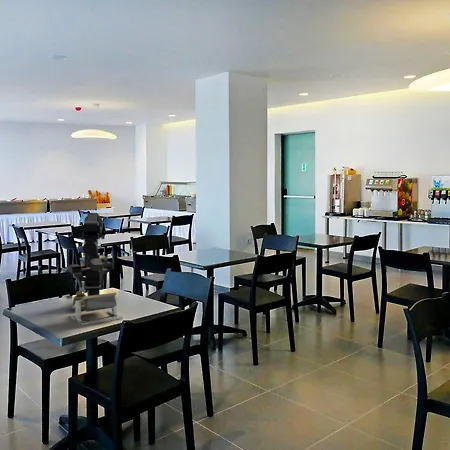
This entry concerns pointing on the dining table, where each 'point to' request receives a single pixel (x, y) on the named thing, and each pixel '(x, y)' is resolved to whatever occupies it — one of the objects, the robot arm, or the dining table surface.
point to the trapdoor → (98, 302)
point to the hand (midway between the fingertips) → (91, 286)
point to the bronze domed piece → (79, 298)
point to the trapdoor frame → (78, 319)
